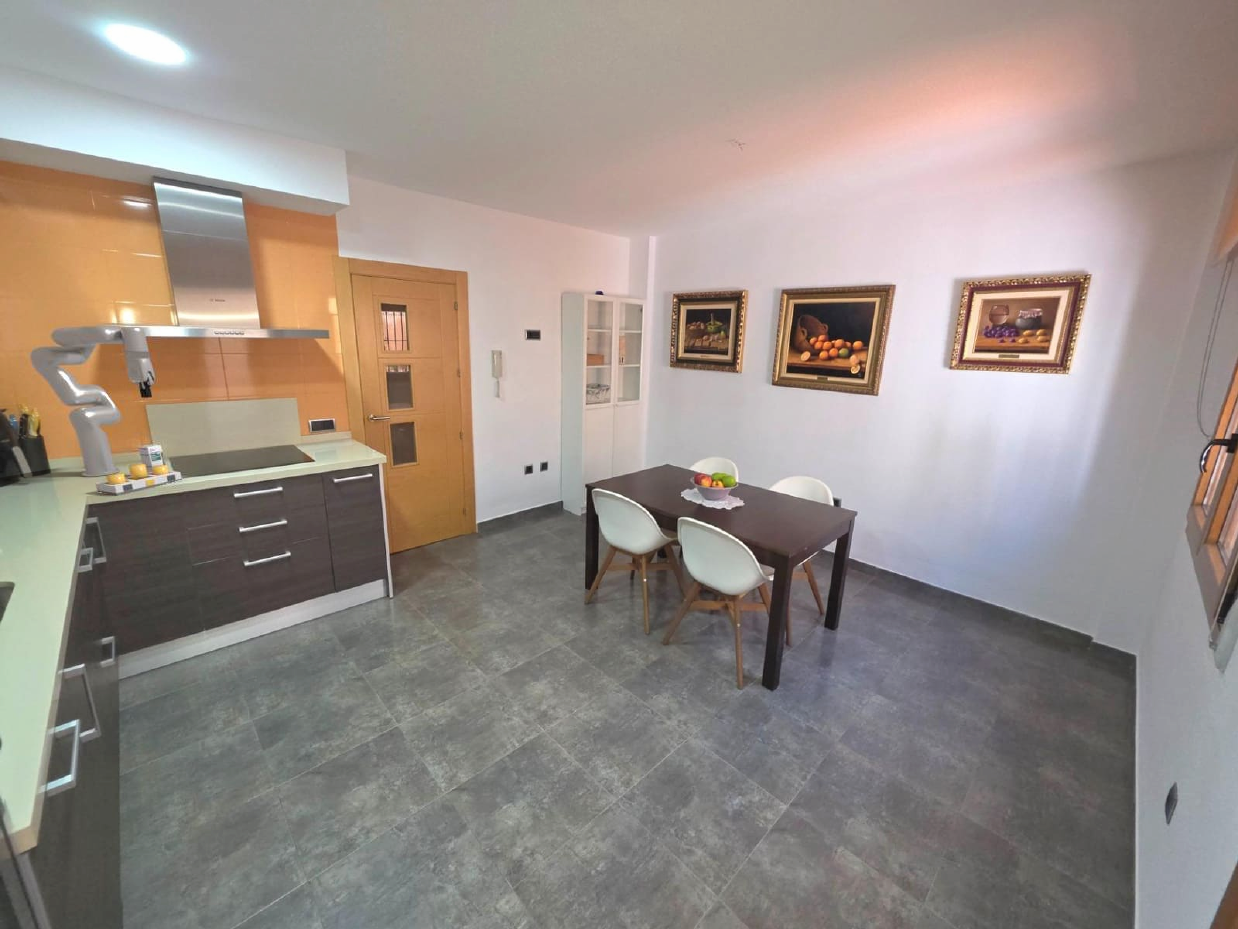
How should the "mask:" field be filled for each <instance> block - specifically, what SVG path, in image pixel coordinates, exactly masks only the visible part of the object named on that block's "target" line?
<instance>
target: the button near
mask: <svg viewBox="0 0 1238 929" xmlns="http://www.w3.org/2000/svg"><path fill="white" fill-rule="evenodd" d="M106 479H107V481H108V484H109V485H116V484H121V483H125V482H126V480H125V474H124V473H122V472H121V473H120V472H118V473H114V474H110V475H106Z"/></svg>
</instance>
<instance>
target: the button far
mask: <svg viewBox="0 0 1238 929" xmlns="http://www.w3.org/2000/svg"><path fill="white" fill-rule="evenodd" d="M168 471H169V467H168V464H165V465H157V466H152V472H153V475H157V476H158V475H163V474H168V473H169V472H168Z"/></svg>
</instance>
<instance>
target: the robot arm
mask: <svg viewBox="0 0 1238 929" xmlns="http://www.w3.org/2000/svg"><path fill="white" fill-rule="evenodd" d="M50 337H51V340H52V341H53V342H54V343H55V344H57V346H56V345H54V346H51V345H50V346H39V347H36V348H34V349H33V350H32V351H31V352H30V355H29V358H30V363H31V365H32V367H33V368H34V369H35V371H36V372H37V373H38V374H39V375H40V376H41V377H42V378H44V380H45V381H46V382H47V383H48V385H49V386H50V387H51V389H52V390H53V392H54V393H55V395H56V396H57V397H58V399H59V400H60V401H61V403H63V404H64V405H65V406H67V407H77V408H75V409H71V411H70V412H69V414H68V419H69V423H71V426H72V427H73V429H74V432H75V434H76V437H77V441H78V444H79V448H80V449H79V450H80V453H81V456H82V461H83V464H84V465H83V468H84V470H85V471H83V472H82V473H81V476H82V477H89V478H91V477H92V478H93V477H101V476H102V477H103V476H107V475H111V474H118V473H120V472H121V469H120V468H118V467H115V463H114V459H113V455H112V451H111V445H110V443H109V442H110V441H109V438H108V436H107V433H106V432H105V431H104V430H102V428H101V427H105V426H111V425H115V424H118V423H120V421H121V419H122V414H121V411H120V410H119V408H118V407H117V406H116V404H115V402H114V401H113V399H112V398H111V397H110V395H109V394H108V393H107V391H106V390H105V388H102V387H101V386H99V385H97V384H80V383H79V382H78V381H77V380H76V379H75V377H74V376H73V375H72V374H71V373H70V372H68V371H67V370H65V369H64V368H61V367H60V366H78V365H83V364H85V363H86V362H87V361H89V358H90V357H91V356H92V354H93V352H94V351H95V349H96V348H97V346H98V345H107V344H110V345H112V344H113V345H115V344H117V345H123V348H124V352H125V357H126V372H127V377H128V381H130V382H133V384H134V385H137V387H138V389H139V391H140V397H141V398H144V399H146V398H152V397H153V393H152V385H154V383H155V381H156V376H155V371H154V368H153V364H152V361H151V356H150V351H149V346H148V342H147V336H146V332H145V330H144V328H142V327H141V326H140V327H137V326H123V325H122V326H121V325H119V326H117V325H88V326H73V327H72V326H71V327H59V328H56V329H54V330H53V331H52V332H51V334H50ZM58 345H59V346H58Z"/></svg>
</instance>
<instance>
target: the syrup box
mask: <svg viewBox="0 0 1238 929" xmlns="http://www.w3.org/2000/svg"><path fill="white" fill-rule="evenodd" d="M137 448H138V453H139V456H140V460H141V464H145V466H146V470H147V473H149V472H152V466H157V465H166V462H165V458H164V454H163V453H164V452H163V448H162V444H148V445H143V446H139V447H137Z"/></svg>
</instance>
